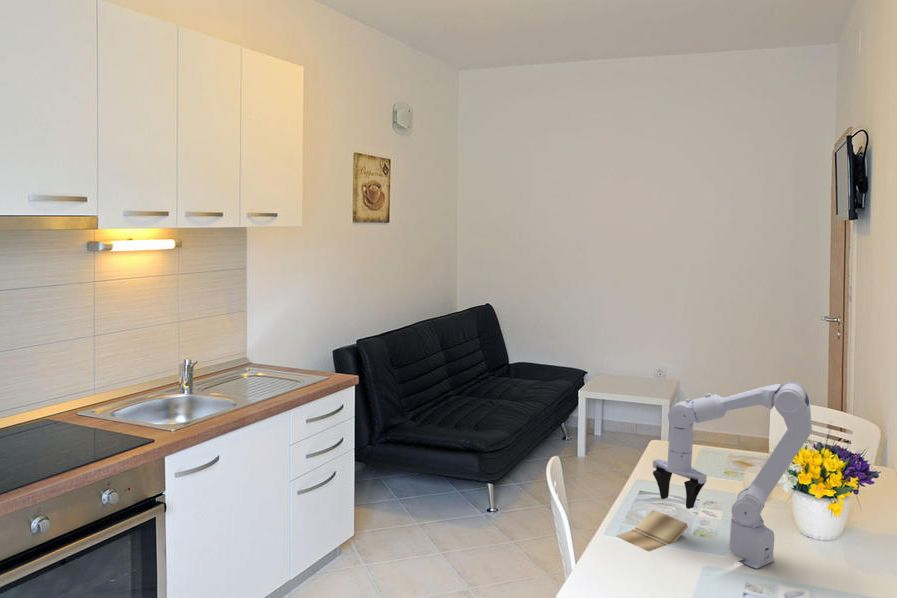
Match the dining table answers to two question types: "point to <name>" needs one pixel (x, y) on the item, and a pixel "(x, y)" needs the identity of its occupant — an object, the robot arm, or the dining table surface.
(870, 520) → the dining table surface
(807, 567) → the dining table surface
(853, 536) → the dining table surface
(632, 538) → the laid board
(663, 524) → the plank
